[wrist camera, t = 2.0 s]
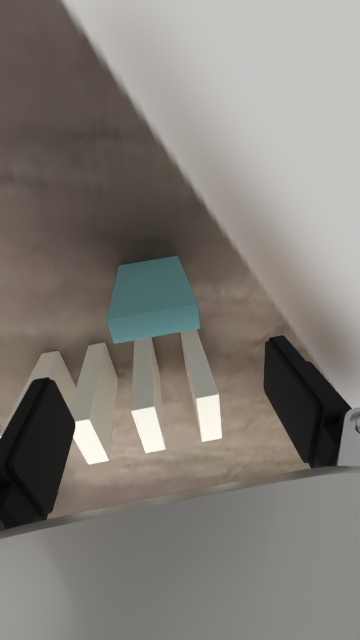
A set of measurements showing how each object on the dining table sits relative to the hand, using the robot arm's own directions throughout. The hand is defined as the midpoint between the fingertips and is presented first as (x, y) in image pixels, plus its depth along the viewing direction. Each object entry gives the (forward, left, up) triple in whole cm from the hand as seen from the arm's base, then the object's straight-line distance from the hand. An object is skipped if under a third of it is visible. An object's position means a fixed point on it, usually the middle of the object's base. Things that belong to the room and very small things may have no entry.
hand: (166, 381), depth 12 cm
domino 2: (+8, -7, -13) cm, 17 cm away
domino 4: (+8, +2, -13) cm, 15 cm away
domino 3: (+8, -2, -13) cm, 15 cm away
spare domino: (-1, 0, -13) cm, 13 cm away
